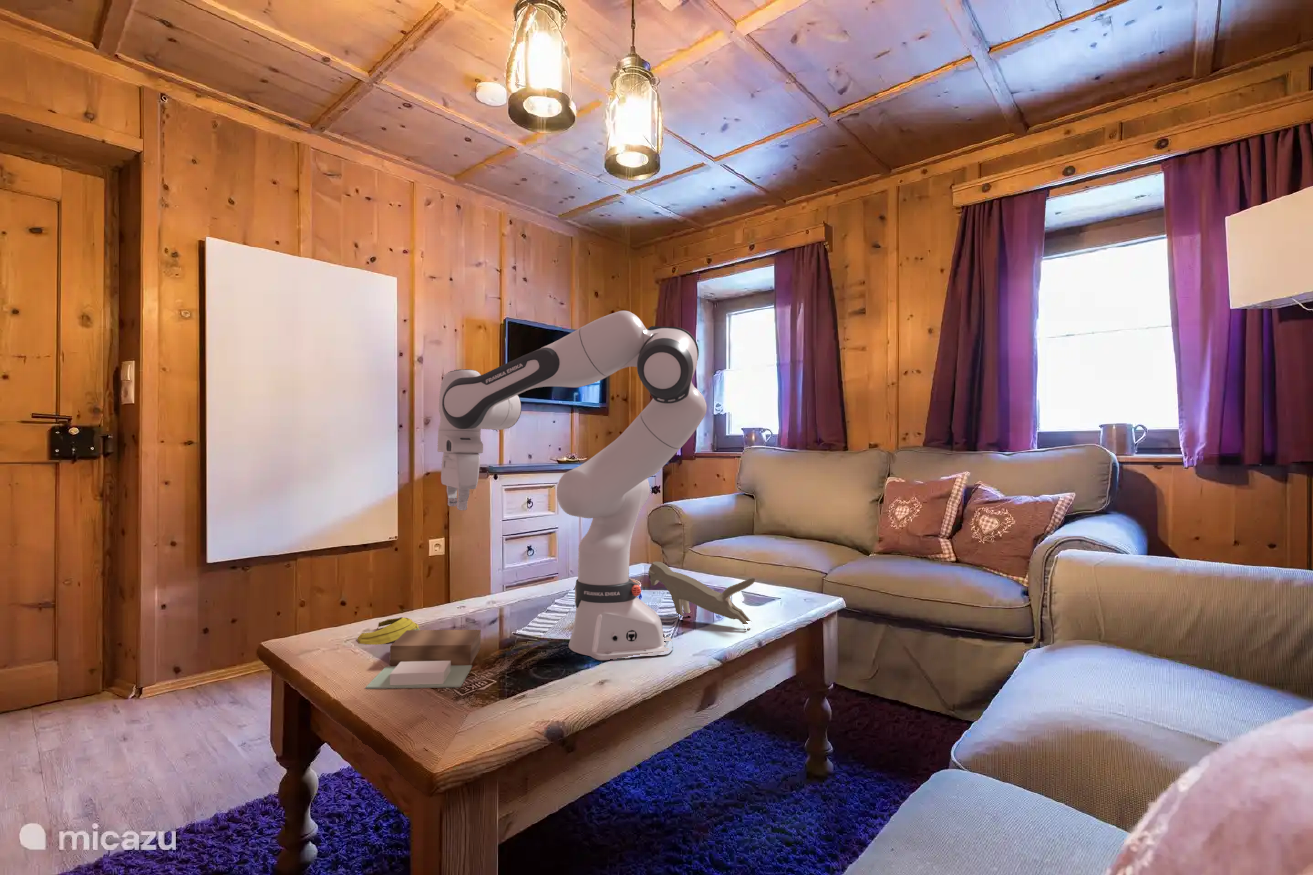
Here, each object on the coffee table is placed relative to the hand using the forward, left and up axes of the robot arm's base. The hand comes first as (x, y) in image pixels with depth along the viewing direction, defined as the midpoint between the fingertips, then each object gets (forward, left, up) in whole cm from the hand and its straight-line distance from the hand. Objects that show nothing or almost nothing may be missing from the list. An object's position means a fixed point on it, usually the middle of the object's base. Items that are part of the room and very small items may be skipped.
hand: (457, 508), depth 129 cm
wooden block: (+1, +9, -29) cm, 30 cm away
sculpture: (-57, -15, -29) cm, 66 cm away
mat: (+1, +19, -29) cm, 35 cm away
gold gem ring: (+14, -6, -30) cm, 34 cm away
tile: (+1, +21, -27) cm, 34 cm away
